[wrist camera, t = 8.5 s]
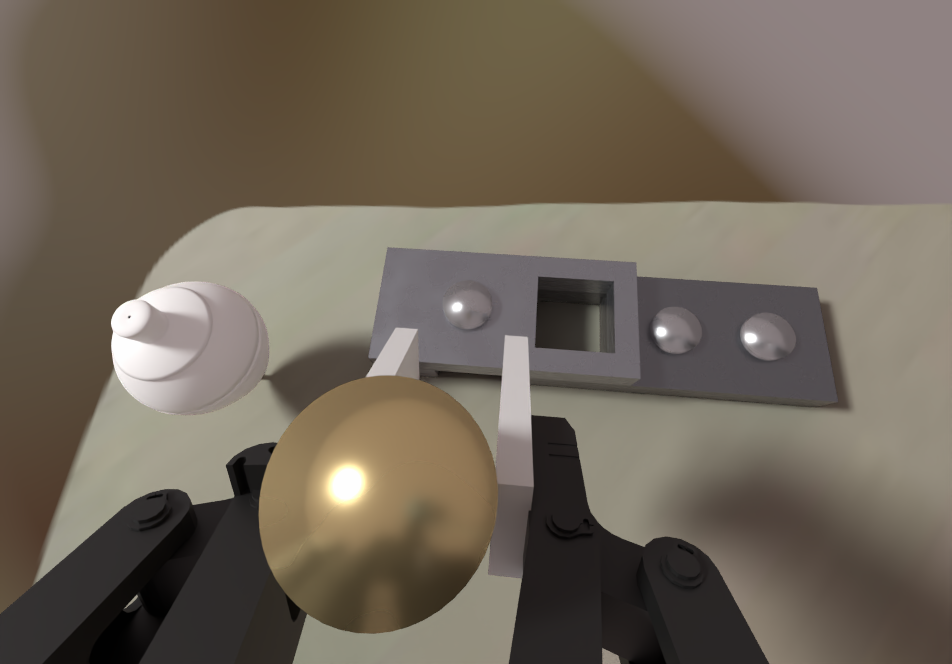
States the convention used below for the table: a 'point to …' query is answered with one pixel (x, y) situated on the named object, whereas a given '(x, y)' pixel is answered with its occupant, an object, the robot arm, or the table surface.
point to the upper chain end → (503, 312)
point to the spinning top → (189, 347)
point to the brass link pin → (378, 504)
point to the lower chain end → (721, 342)
